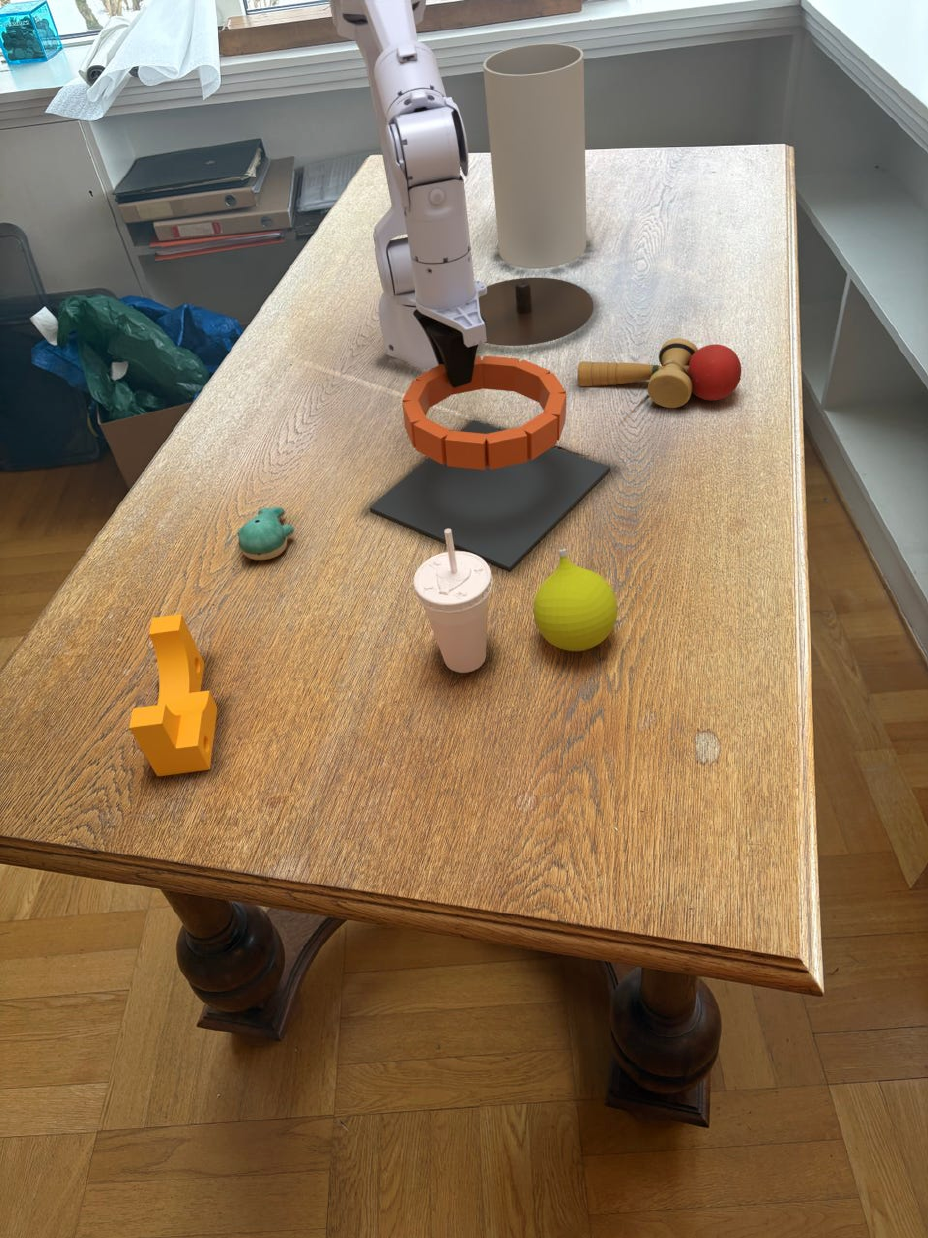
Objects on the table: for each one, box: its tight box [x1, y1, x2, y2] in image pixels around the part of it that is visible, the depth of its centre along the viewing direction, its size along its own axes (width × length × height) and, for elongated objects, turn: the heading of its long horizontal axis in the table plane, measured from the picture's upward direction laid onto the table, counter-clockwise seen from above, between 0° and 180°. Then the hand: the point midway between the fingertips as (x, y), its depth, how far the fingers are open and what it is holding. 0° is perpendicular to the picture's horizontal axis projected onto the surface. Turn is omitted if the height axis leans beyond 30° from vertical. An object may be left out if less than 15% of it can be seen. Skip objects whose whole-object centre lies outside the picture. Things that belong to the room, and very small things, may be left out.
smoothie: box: [413, 529, 494, 674], centre depth 78 cm, size 6×6×14 cm
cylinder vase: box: [482, 42, 588, 269], centre depth 127 cm, size 12×12×25 cm
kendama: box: [577, 337, 742, 409], centre depth 107 cm, size 8×6×18 cm
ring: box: [401, 355, 567, 470], centre depth 93 cm, size 16×16×3 cm
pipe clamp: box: [128, 613, 218, 777], centre depth 79 cm, size 12×4×6 cm, turn 5°
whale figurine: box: [237, 506, 295, 561], centre depth 96 cm, size 6×7×4 cm
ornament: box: [532, 536, 618, 652], centre depth 80 cm, size 7×7×10 cm
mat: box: [369, 419, 611, 572], centre depth 99 cm, size 18×18×1 cm
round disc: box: [479, 277, 595, 347], centre depth 123 cm, size 18×18×4 cm
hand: (457, 378), depth 98 cm, fingers closed on ring, 2 cm apart
